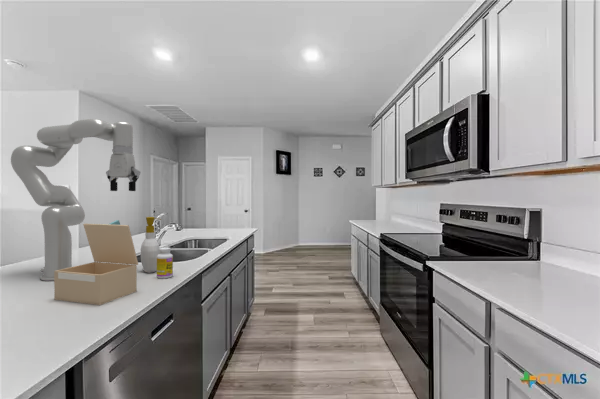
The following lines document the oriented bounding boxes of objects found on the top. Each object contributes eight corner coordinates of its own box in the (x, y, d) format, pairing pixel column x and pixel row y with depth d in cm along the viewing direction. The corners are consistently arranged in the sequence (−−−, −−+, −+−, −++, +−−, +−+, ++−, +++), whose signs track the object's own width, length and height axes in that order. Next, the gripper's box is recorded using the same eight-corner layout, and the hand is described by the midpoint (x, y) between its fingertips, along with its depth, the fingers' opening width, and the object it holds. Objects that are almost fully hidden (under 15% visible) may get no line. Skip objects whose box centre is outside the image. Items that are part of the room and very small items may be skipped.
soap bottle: (164, 272, 151) (164, 217, 151) (143, 275, 146) (143, 218, 146) (158, 266, 163) (158, 215, 163) (138, 269, 158) (138, 216, 158)
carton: (53, 299, 112) (53, 271, 112) (94, 286, 127) (94, 261, 127) (99, 305, 106) (99, 275, 106) (136, 291, 122) (136, 265, 122)
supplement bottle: (166, 279, 139) (166, 249, 139) (153, 278, 141) (153, 249, 140) (175, 275, 146) (175, 247, 146) (162, 274, 147) (162, 246, 147)
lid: (83, 224, 122) (96, 218, 128) (94, 261, 127) (106, 254, 133) (127, 225, 117) (139, 219, 123) (137, 264, 122) (148, 257, 127)
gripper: (99, 150, 137) (99, 190, 138) (132, 149, 133) (132, 191, 133) (114, 153, 145) (114, 191, 145) (146, 152, 140) (145, 191, 140)
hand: (123, 191), depth 139 cm, fingers open, 9 cm apart
